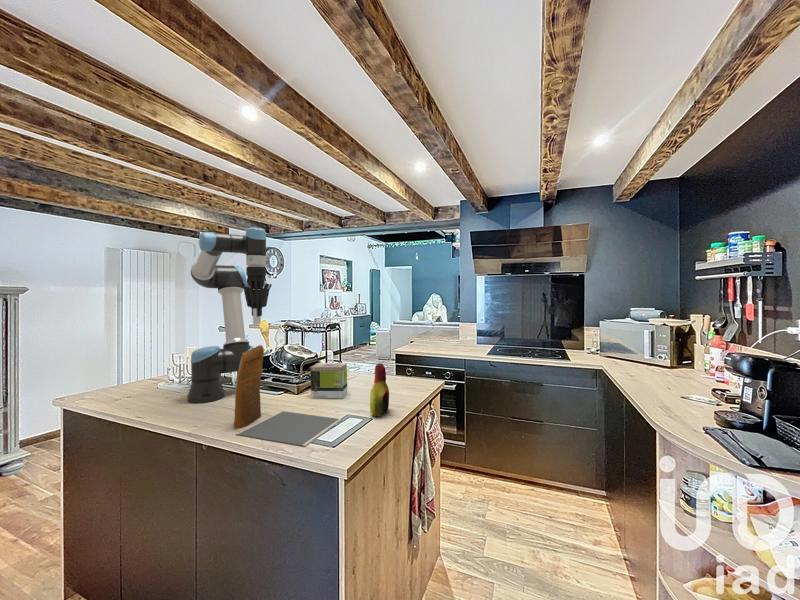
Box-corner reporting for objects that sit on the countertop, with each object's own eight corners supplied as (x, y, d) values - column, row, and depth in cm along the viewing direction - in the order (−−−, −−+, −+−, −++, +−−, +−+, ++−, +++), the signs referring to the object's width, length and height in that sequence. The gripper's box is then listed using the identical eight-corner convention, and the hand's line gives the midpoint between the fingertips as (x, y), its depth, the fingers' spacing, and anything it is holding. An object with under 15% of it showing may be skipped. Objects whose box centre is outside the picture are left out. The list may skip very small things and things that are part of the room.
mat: (235, 435, 120) (235, 433, 120) (281, 411, 143) (281, 410, 143) (304, 446, 111) (304, 445, 111) (341, 420, 133) (341, 419, 133)
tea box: (347, 392, 169) (347, 362, 169) (342, 399, 159) (342, 367, 159) (317, 392, 171) (317, 362, 170) (310, 398, 161) (309, 366, 160)
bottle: (380, 407, 148) (380, 360, 147) (394, 409, 145) (393, 361, 145) (366, 416, 137) (366, 366, 136) (380, 419, 134) (380, 367, 134)
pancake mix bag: (270, 412, 142) (269, 344, 141) (243, 431, 123) (242, 352, 122) (255, 411, 143) (254, 343, 142) (226, 430, 124) (224, 352, 123)
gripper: (236, 266, 140) (237, 324, 141) (263, 265, 137) (264, 325, 137) (249, 267, 147) (249, 322, 148) (275, 266, 144) (276, 323, 145)
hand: (257, 324), depth 143 cm, fingers closed
